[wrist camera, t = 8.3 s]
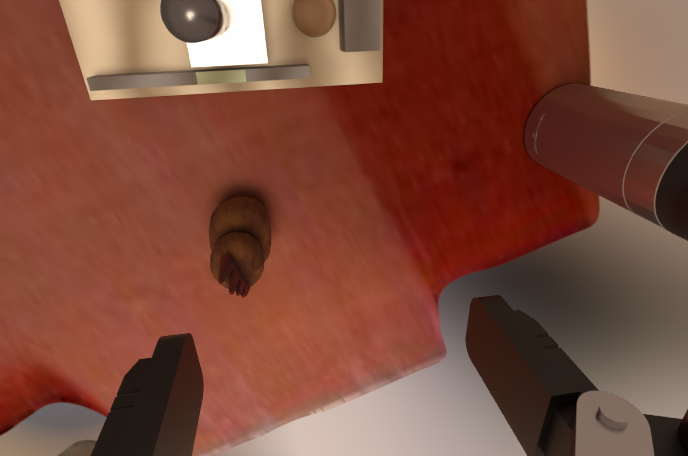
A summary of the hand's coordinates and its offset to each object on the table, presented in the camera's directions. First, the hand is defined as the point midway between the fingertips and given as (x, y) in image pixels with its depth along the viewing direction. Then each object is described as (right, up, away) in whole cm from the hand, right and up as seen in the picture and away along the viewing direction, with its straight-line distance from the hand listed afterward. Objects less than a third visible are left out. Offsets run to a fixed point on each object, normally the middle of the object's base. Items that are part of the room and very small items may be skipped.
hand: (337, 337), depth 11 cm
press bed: (-9, +21, +23) cm, 33 cm away
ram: (-10, +21, +22) cm, 32 cm away
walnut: (-3, +22, +23) cm, 32 cm away
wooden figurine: (-11, +5, +32) cm, 34 cm away
